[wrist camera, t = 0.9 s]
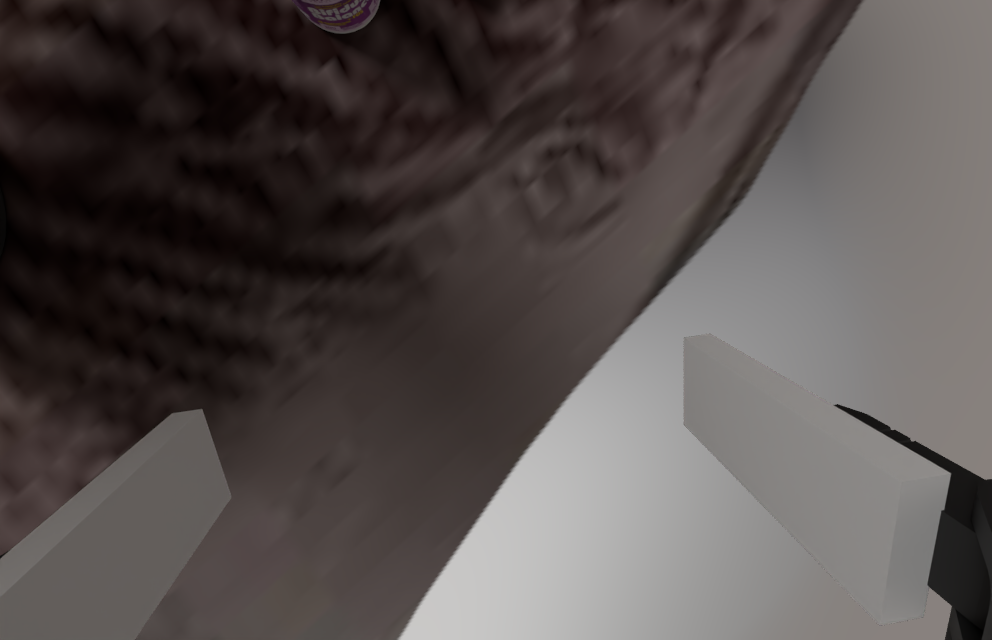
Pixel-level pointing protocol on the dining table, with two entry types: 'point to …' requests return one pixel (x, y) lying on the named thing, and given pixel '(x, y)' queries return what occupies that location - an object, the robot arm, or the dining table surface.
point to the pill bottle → (339, 13)
